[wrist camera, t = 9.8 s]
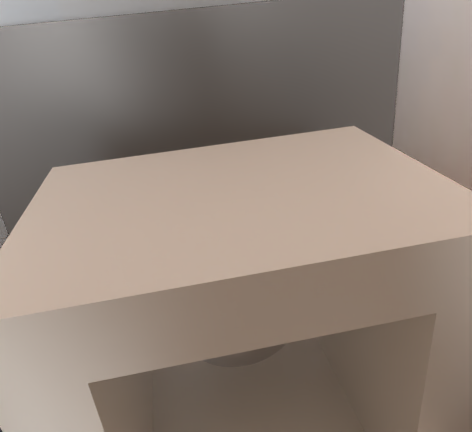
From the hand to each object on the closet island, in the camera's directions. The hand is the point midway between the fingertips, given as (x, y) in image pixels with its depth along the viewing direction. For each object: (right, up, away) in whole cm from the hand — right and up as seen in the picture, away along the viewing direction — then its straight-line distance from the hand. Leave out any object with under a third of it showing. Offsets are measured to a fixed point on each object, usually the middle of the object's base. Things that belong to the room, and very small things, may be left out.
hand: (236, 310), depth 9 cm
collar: (0, +1, +1) cm, 2 cm away
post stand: (-1, +2, +5) cm, 6 cm away
